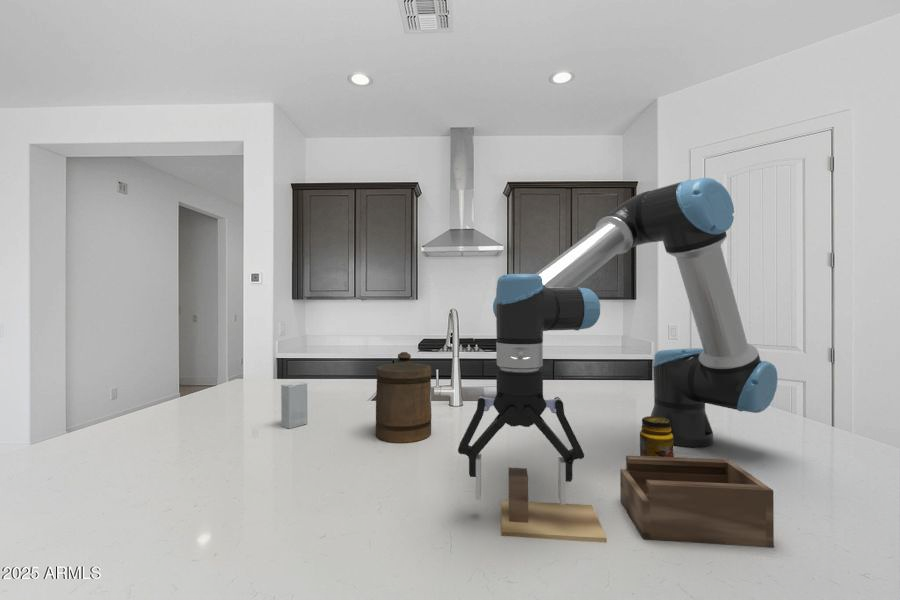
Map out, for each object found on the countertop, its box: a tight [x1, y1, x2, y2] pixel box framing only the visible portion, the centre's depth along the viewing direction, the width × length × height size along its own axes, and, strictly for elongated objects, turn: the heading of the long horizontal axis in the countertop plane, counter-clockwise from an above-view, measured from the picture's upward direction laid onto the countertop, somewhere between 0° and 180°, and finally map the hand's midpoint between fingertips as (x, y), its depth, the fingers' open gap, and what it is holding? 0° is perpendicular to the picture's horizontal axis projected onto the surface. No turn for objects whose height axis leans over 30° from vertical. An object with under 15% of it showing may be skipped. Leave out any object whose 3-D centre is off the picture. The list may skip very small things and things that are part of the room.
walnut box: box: [619, 454, 775, 548], centre depth 68 cm, size 12×18×8 cm, turn 83°
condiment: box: [639, 415, 674, 457], centre depth 85 cm, size 7×8×12 cm
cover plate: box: [500, 467, 608, 544], centre depth 68 cm, size 10×15×8 cm, turn 83°
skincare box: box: [280, 381, 308, 429], centre depth 121 cm, size 6×4×12 cm
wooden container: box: [375, 351, 432, 444], centre depth 113 cm, size 15×15×22 cm
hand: (519, 498), depth 69 cm, fingers open, 13 cm apart
